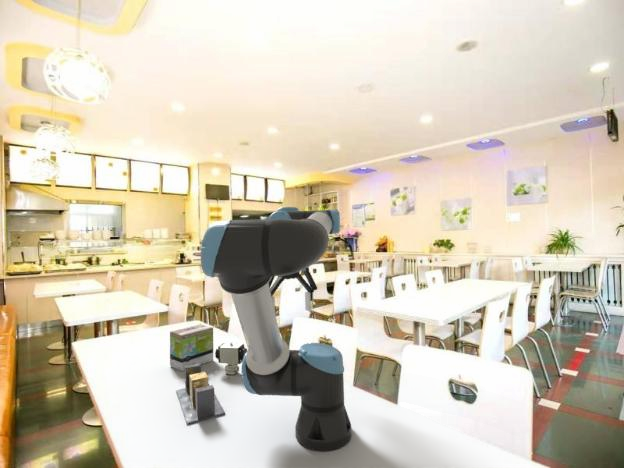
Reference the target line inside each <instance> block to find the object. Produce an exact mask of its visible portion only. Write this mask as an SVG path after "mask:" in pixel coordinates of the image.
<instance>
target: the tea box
mask: <svg viewBox="0 0 624 468" xmlns="http://www.w3.org/2000/svg"><path fill="white" fill-rule="evenodd" d="M213 361H214V327H212V326H208V325H204V324H201V323H200V324H196V325H193V326H188V327H184V328H180V329H176V330H171V331H170V332H169V366H170V367H172V368H173V369H176V370H179V371H181V372H185V366H187V365H192V364H197V363H200V365H201V366H202V365H204V364H206V363H210V362H213Z"/></svg>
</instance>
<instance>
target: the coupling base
mask: <svg viewBox="0 0 624 468" xmlns="http://www.w3.org/2000/svg"><path fill="white" fill-rule="evenodd" d="M201 372H202V364H201V365H200V363H197V364H192V365H187V366H185V370H184V381H185V383H184V385H185V386H184V388H180V389H177V390H175V392H176V395H177V398H178V401H179V404H180V407H181V411H182V413H183V417H184V420H185V423H186V425H187V426H188V425H191V424H196V423H198V422H203V421H206V420H210V419H214V418H216V417H221V416H224V415H226V412H225V409H224V408H223V406H222V404H221V403H220V401H219V400H218V397H217V396H216V393H215V387H214V386H213V384H211V385H210V383H209V382H208V386H206V387H202V388H197V389H195V393H196V405H192V403H191V400H190V381H189V375H192V374H196V373H201Z"/></svg>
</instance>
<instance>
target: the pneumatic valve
mask: <svg viewBox="0 0 624 468" xmlns="http://www.w3.org/2000/svg"><path fill="white" fill-rule="evenodd" d="M247 351H248V348H246V347H245V344H244V343H233V342H229V343H228V342H227V343H222V344H221V345H219V346H218V347H217V348H216V349H215V353H214V355H215V358H216V359H217V361H218V364H225V366H224V372H225V374H226V375H231V376H232V375H233V376H234V375H236V373H239V372H240V366H239V365H242V361H243V358H244V355H245V354H246V352H247Z"/></svg>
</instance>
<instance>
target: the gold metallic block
mask: <svg viewBox="0 0 624 468" xmlns="http://www.w3.org/2000/svg"><path fill="white" fill-rule="evenodd" d="M189 381H190V400H191V403H192V405H196V393H195V389H197V388H202V387H206V386H208V383H209V376H208V375H207V373H206V371H201V373H196V374H192V375H189Z"/></svg>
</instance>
